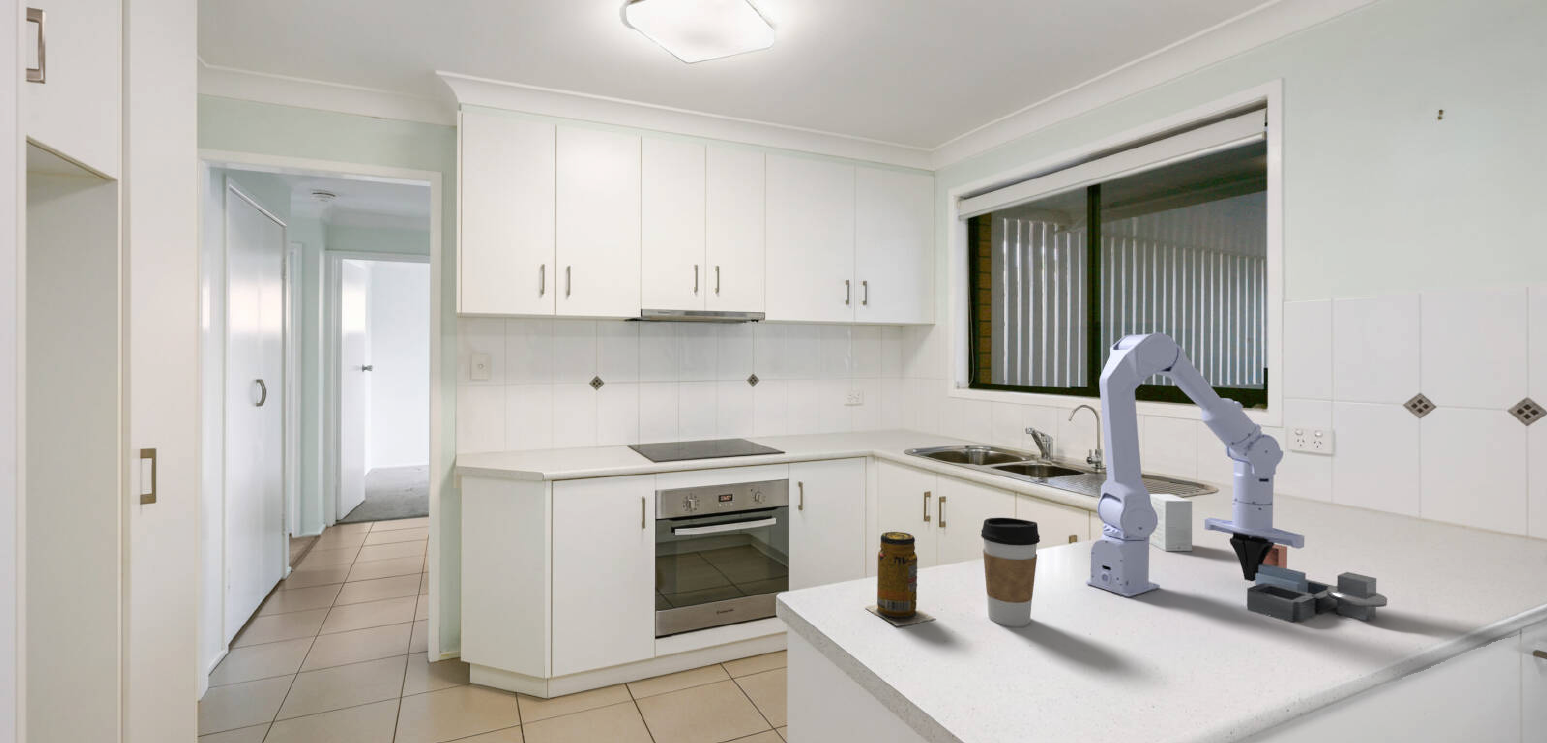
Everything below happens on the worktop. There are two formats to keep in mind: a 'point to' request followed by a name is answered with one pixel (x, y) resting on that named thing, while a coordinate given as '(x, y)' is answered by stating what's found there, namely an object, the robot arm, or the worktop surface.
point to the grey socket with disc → (1318, 599)
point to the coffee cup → (1010, 568)
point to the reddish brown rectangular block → (1277, 556)
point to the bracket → (1281, 577)
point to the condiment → (897, 580)
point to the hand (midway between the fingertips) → (1251, 579)
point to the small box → (1172, 523)
